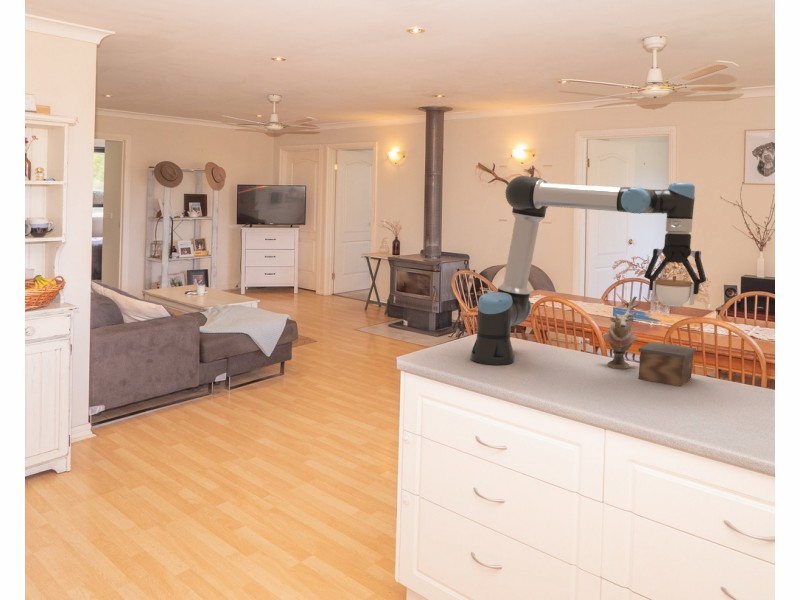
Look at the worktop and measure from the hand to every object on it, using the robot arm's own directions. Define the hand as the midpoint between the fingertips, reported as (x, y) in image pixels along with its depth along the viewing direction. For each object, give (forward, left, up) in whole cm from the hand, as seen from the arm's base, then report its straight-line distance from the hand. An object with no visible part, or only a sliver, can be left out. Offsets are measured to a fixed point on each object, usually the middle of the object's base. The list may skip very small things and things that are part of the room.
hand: (672, 302), depth 202 cm
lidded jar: (0, 0, -1) cm, 1 cm away
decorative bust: (-17, +4, -25) cm, 31 cm away
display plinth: (0, 0, -25) cm, 25 cm away
